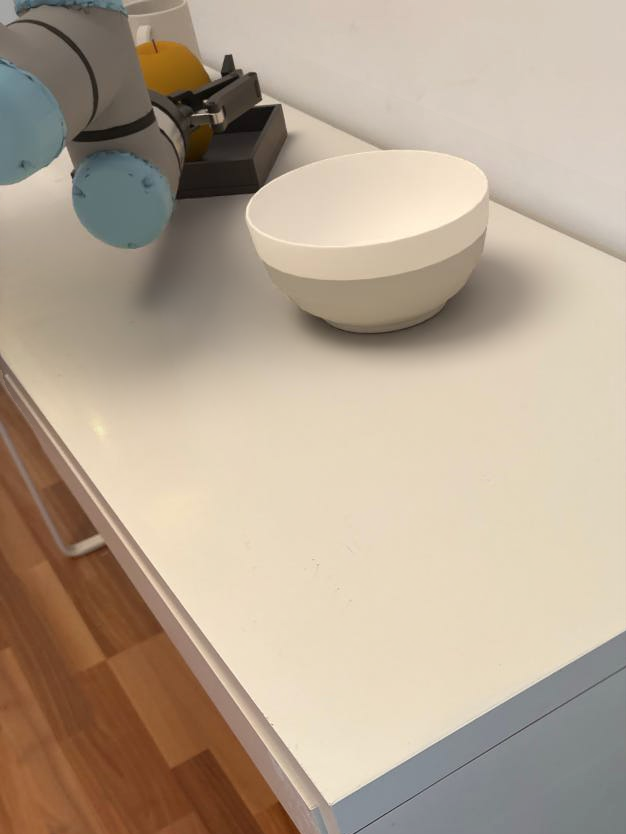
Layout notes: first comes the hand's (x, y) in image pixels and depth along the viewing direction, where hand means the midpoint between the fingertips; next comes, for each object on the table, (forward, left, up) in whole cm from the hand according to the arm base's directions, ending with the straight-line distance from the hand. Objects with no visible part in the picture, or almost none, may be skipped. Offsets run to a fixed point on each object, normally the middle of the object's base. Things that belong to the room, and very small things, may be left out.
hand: (168, 76), depth 104 cm
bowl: (+26, -38, -9) cm, 46 cm away
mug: (-8, +24, -9) cm, 27 cm away
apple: (+1, -3, -8) cm, 8 cm away
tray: (+1, -3, -8) cm, 9 cm away
